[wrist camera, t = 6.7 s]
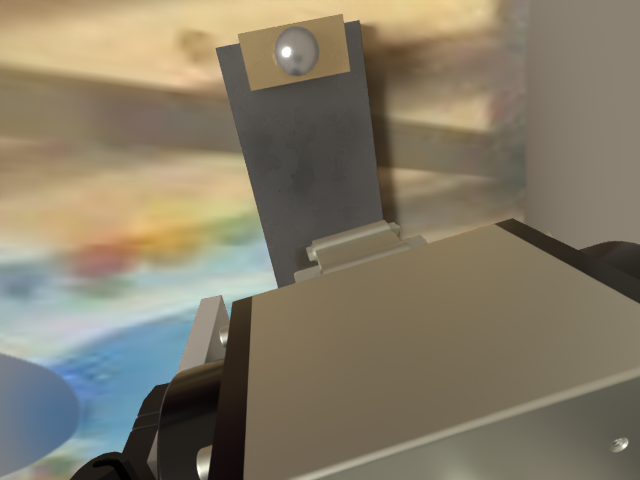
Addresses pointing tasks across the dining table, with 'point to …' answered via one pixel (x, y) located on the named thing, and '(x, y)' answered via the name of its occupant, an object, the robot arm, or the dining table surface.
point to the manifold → (304, 133)
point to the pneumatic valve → (422, 366)
